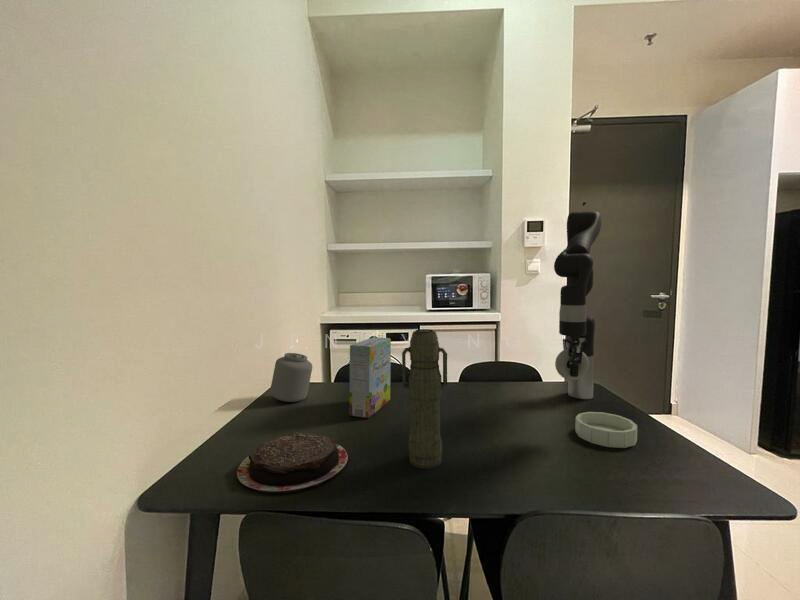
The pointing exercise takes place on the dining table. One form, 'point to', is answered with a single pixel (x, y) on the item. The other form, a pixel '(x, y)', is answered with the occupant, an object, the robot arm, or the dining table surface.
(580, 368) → the donut
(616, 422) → the bowl
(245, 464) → the chocolate cake
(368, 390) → the snack box
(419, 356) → the thermos
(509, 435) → the dining table surface
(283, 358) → the jar
